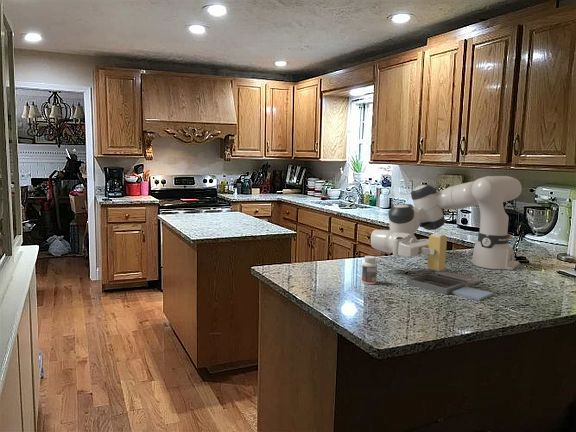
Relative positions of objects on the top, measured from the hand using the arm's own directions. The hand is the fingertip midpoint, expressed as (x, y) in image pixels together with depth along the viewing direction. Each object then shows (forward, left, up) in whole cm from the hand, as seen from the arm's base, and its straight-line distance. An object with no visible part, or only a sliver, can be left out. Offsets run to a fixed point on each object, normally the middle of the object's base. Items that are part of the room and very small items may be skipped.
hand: (439, 251), depth 171 cm
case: (-7, -1, -13) cm, 15 cm away
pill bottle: (+16, -19, -13) cm, 28 cm away
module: (0, -1, -7) cm, 7 cm away
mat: (-1, +13, -13) cm, 18 cm away
